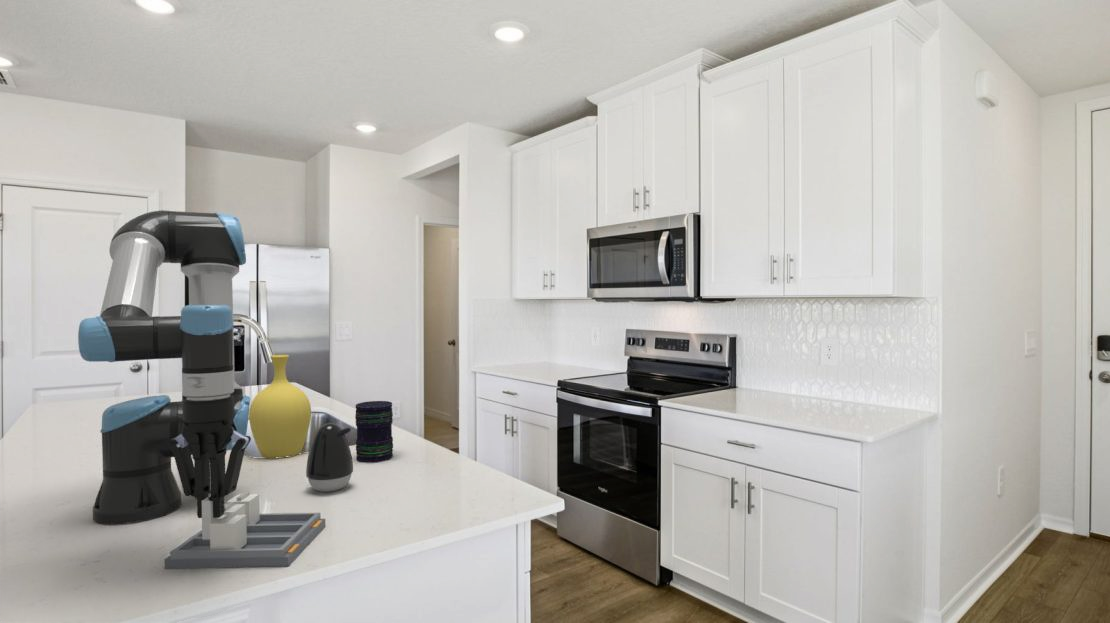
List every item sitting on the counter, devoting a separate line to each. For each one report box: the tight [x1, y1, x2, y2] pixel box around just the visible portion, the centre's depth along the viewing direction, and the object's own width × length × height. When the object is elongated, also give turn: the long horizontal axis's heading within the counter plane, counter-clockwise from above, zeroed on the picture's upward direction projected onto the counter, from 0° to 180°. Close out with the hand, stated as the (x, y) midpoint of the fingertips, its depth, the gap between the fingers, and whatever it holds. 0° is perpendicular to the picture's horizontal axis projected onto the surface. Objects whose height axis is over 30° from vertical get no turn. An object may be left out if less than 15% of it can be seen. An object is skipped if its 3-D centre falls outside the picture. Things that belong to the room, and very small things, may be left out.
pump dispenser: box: [305, 422, 354, 493], centre depth 137 cm, size 10×10×15 cm
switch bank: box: [163, 512, 326, 569], centre depth 106 cm, size 20×17×3 cm
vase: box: [248, 354, 312, 459], centre depth 168 cm, size 16×16×28 cm
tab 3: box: [226, 491, 261, 524], centre depth 111 cm, size 4×4×6 cm
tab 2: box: [210, 512, 247, 549], centre depth 100 cm, size 4×4×6 cm
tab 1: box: [224, 502, 245, 515], centre depth 105 cm, size 4×4×6 cm
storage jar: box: [354, 400, 394, 464], centre depth 163 cm, size 10×10×15 cm
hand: (211, 536), depth 100 cm, fingers closed
